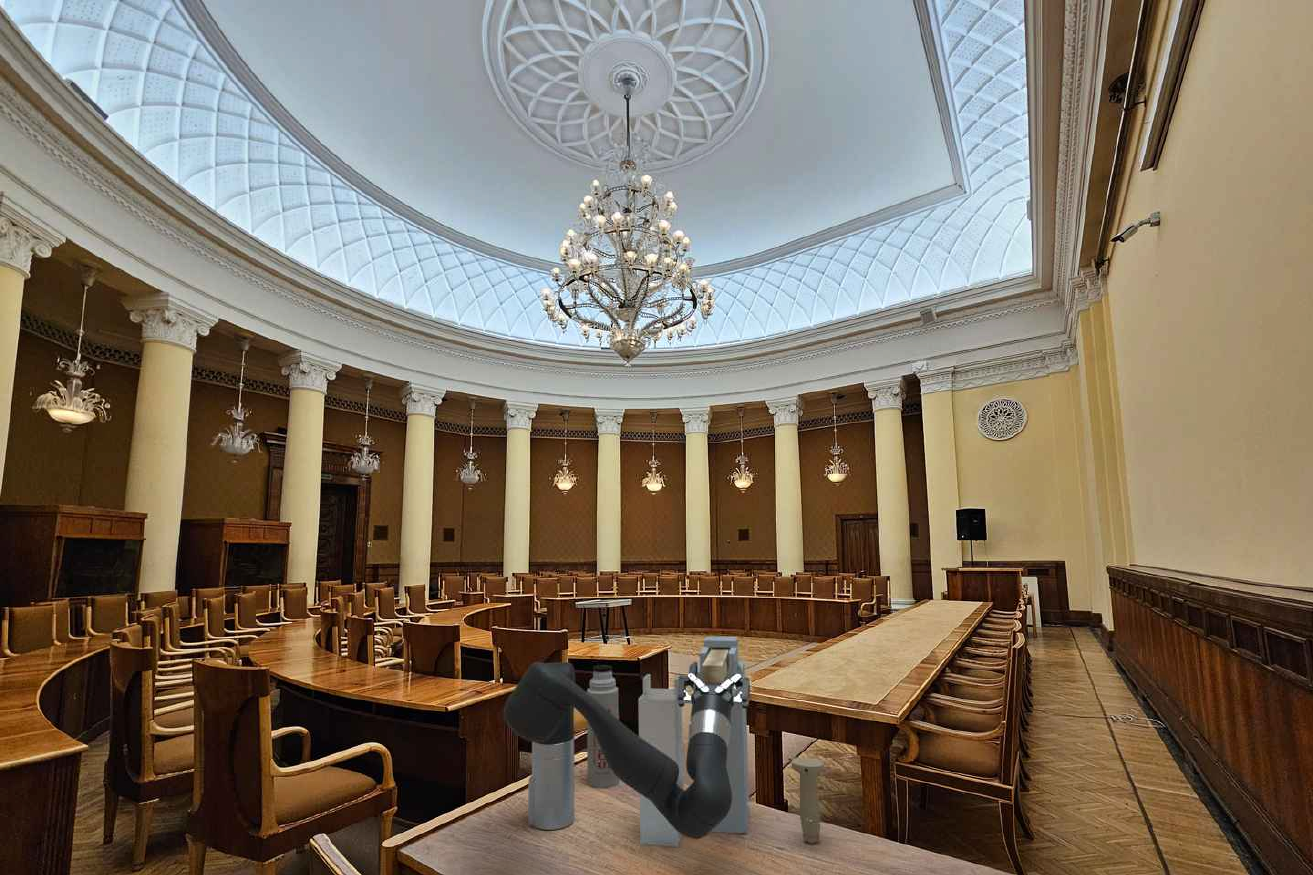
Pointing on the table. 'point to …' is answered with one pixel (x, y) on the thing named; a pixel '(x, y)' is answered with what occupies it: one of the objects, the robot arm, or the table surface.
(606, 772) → the thermos bottle
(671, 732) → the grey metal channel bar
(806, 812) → the handle
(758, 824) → the table surface
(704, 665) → the block
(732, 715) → the stand
